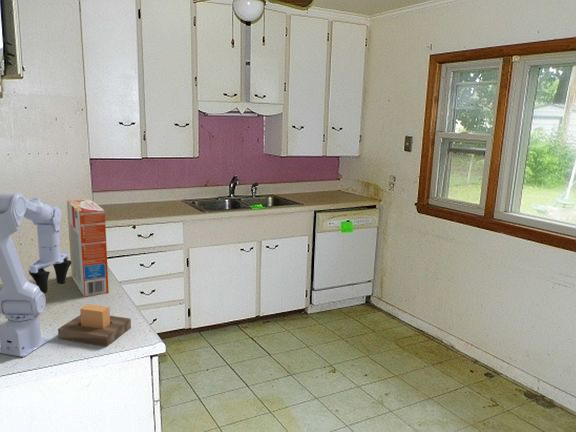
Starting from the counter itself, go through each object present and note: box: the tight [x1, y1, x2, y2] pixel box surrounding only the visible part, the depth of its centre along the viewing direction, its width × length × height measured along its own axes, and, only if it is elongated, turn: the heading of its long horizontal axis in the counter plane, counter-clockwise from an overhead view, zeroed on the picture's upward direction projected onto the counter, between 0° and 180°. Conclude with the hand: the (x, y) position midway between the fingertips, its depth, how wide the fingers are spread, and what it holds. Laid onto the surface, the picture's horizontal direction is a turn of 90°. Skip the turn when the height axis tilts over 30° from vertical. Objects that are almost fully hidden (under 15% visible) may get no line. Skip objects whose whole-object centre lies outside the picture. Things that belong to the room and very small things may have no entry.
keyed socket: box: [57, 314, 132, 348], centre depth 135 cm, size 12×16×3 cm
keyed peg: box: [79, 303, 111, 329], centre depth 134 cm, size 4×7×8 cm, turn 79°
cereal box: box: [66, 198, 109, 298], centre depth 168 cm, size 23×8×30 cm, turn 35°
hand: (52, 287), depth 141 cm, fingers open, 7 cm apart
